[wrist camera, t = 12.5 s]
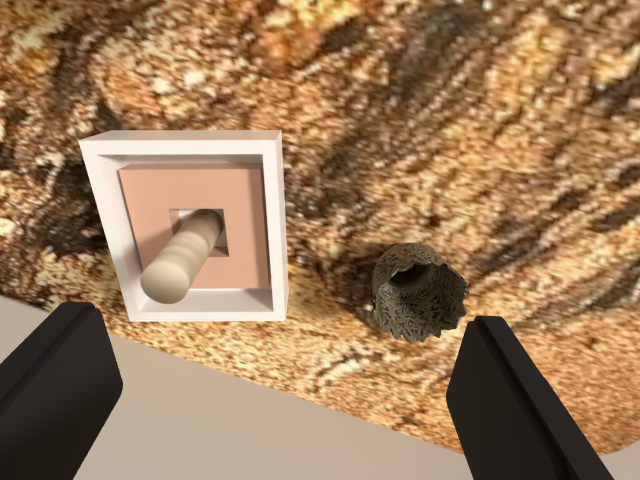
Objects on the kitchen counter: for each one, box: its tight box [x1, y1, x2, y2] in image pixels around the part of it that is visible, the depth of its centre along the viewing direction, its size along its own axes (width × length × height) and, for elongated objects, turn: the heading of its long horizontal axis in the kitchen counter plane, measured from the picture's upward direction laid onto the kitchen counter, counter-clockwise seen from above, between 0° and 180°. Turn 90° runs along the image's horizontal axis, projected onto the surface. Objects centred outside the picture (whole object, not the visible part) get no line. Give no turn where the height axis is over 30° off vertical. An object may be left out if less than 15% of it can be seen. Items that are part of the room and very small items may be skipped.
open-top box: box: [79, 130, 289, 322], centre depth 31 cm, size 16×14×4 cm
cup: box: [372, 243, 469, 343], centre depth 31 cm, size 8×7×8 cm
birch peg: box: [140, 209, 224, 304], centre depth 28 cm, size 3×3×10 cm
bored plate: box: [119, 163, 271, 289], centre depth 31 cm, size 11×11×2 cm
